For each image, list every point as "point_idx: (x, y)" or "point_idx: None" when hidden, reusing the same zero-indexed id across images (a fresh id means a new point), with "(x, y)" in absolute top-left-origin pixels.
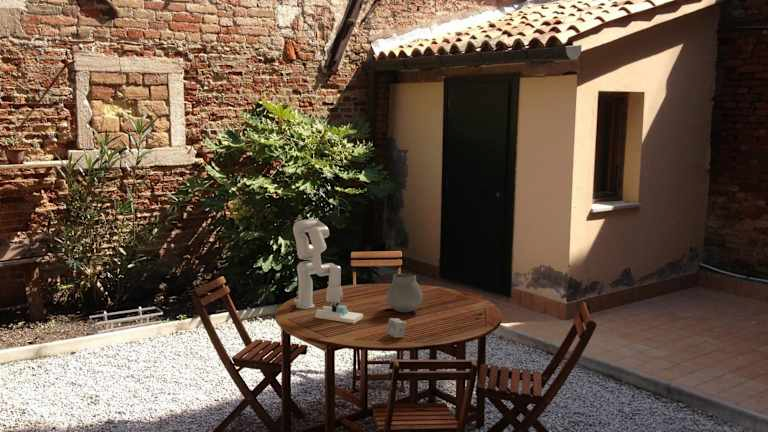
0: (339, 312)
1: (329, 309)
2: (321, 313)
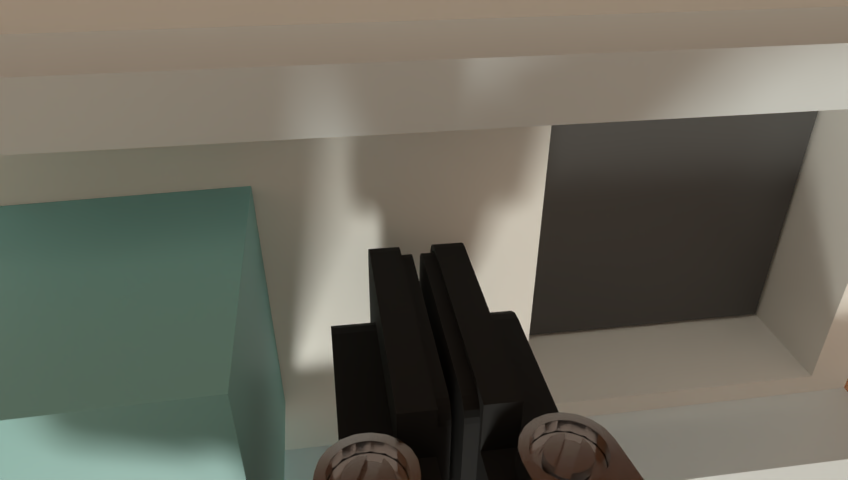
0: (86, 249)
1: (668, 428)
2: (820, 7)
